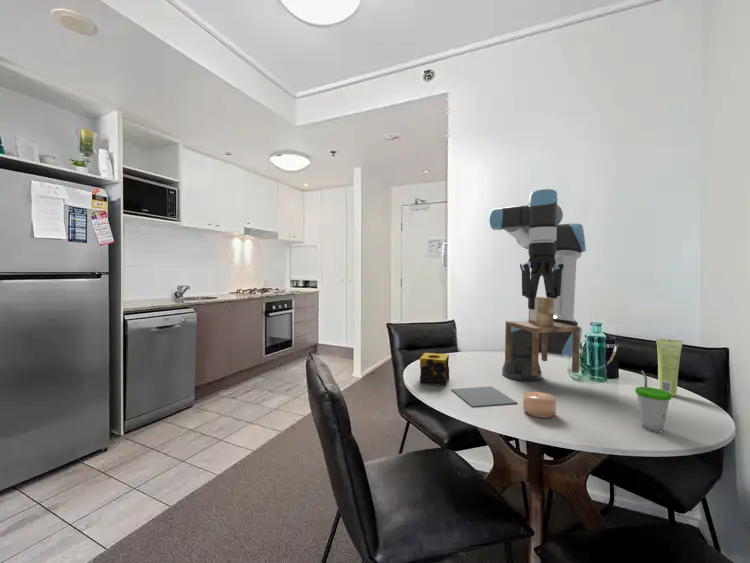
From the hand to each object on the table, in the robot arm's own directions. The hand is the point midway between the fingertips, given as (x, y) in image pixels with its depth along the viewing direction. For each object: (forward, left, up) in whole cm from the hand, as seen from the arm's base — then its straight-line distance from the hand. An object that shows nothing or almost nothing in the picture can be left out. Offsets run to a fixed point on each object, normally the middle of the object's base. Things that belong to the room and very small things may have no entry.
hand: (540, 319), depth 104 cm
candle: (+20, -35, -29) cm, 50 cm away
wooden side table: (0, 0, -14) cm, 14 cm away
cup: (-24, +15, -29) cm, 40 cm away
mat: (+10, -16, -29) cm, 34 cm away
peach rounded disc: (0, 0, -29) cm, 29 cm away
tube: (-56, -6, -29) cm, 63 cm away
